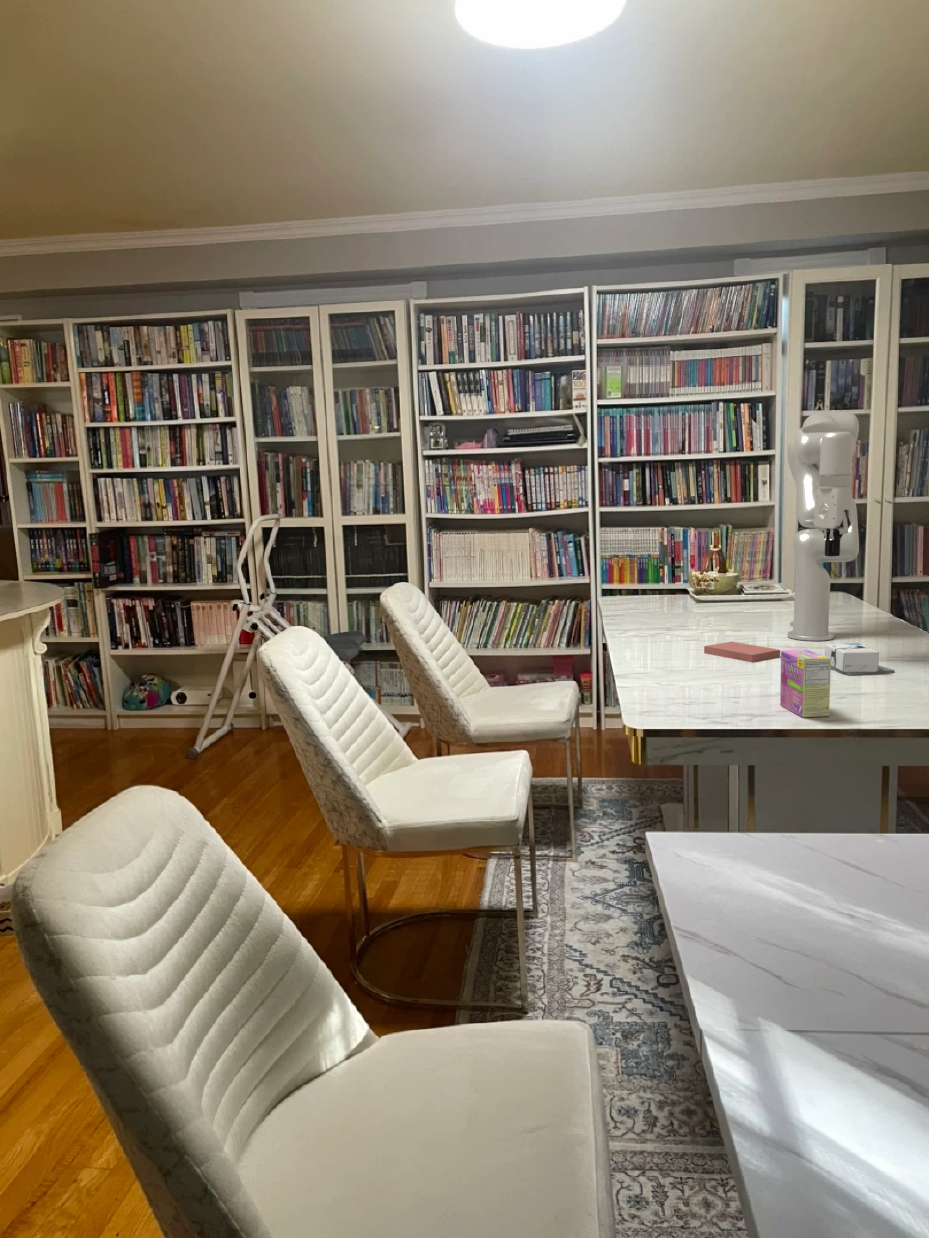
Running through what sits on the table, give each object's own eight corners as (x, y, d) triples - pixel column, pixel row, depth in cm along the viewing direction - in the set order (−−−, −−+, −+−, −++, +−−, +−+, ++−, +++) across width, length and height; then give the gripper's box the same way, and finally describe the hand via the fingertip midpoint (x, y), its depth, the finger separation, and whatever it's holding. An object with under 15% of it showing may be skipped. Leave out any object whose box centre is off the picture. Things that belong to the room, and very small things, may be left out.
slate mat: (806, 661, 230) (806, 658, 230) (848, 658, 232) (848, 656, 232) (849, 675, 213) (849, 673, 213) (894, 672, 215) (894, 670, 215)
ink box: (859, 642, 224) (880, 651, 213) (858, 662, 225) (878, 671, 213) (824, 643, 224) (843, 652, 213) (823, 662, 225) (842, 672, 214)
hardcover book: (704, 655, 244) (704, 646, 243) (731, 650, 250) (731, 641, 249) (752, 664, 230) (752, 654, 230) (779, 659, 236) (780, 649, 236)
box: (778, 705, 187) (780, 649, 185) (805, 704, 187) (807, 648, 186) (801, 718, 177) (803, 659, 175) (829, 717, 177) (831, 658, 175)
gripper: (804, 482, 231) (801, 554, 234) (839, 483, 216) (836, 559, 219) (831, 482, 232) (828, 553, 235) (867, 482, 218) (863, 558, 221)
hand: (832, 555), depth 227 cm, fingers closed
